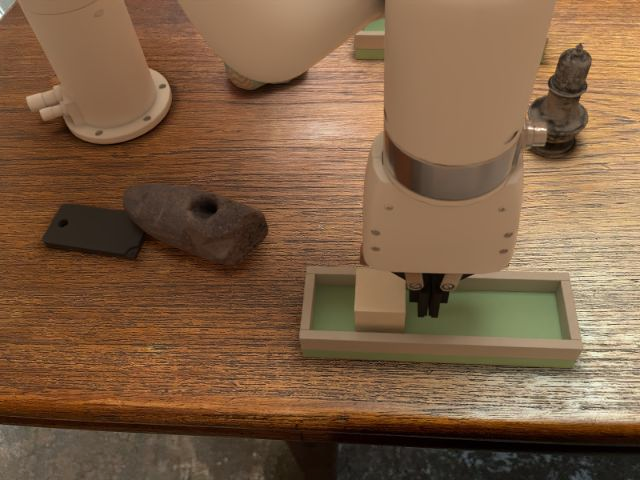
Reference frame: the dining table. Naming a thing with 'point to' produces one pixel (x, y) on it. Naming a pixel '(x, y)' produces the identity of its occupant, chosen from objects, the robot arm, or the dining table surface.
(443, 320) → the tray
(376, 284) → the beige cube
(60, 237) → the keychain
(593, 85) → the dining table surface
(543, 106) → the chess piece
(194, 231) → the perforated stone tool
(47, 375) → the dining table surface
